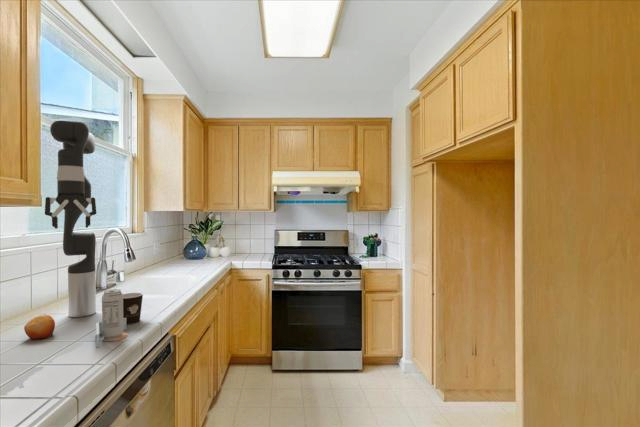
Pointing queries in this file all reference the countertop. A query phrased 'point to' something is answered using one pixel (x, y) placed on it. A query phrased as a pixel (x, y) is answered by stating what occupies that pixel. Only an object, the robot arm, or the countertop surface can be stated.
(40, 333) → the fruit
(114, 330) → the energy drink can
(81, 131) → the robot arm
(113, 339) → the pad
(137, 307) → the coffee mug
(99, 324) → the acrylic fence
